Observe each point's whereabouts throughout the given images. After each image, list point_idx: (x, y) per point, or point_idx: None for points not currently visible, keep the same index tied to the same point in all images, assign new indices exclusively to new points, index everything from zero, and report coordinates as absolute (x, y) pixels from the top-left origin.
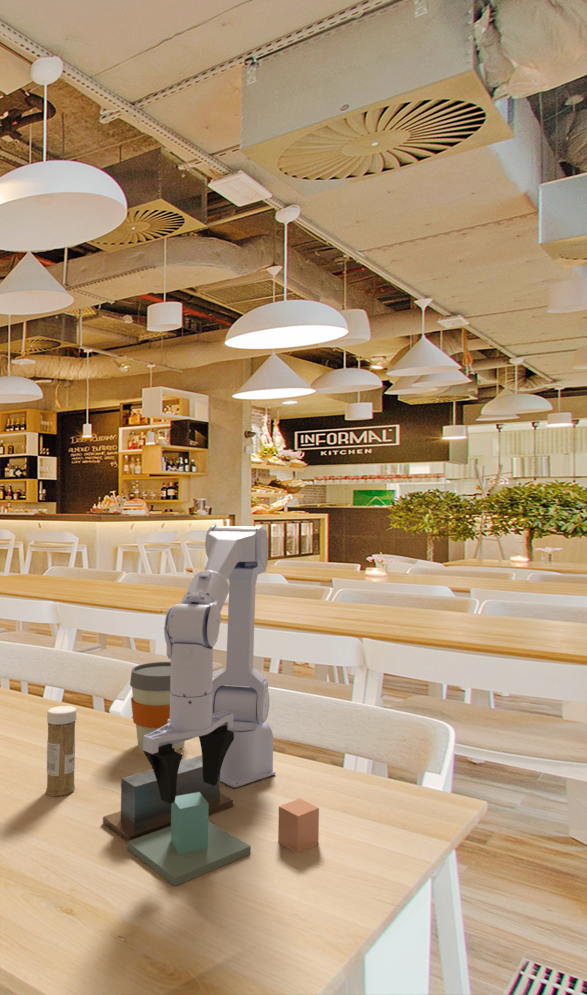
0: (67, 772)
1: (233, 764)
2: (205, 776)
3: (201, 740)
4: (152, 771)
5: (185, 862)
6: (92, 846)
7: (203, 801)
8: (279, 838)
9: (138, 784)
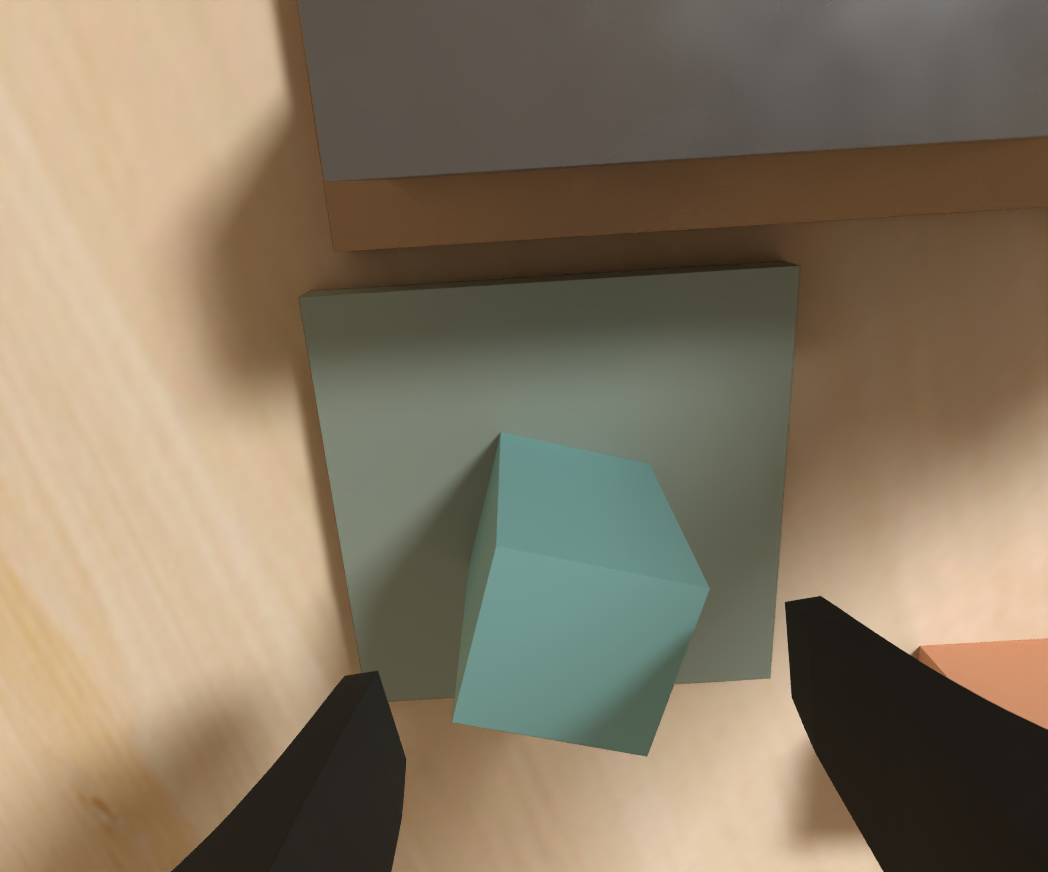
0: None
1: None
2: (806, 647)
3: (1028, 866)
4: None
5: (461, 632)
6: (149, 136)
7: (637, 720)
8: (928, 665)
9: (372, 148)
